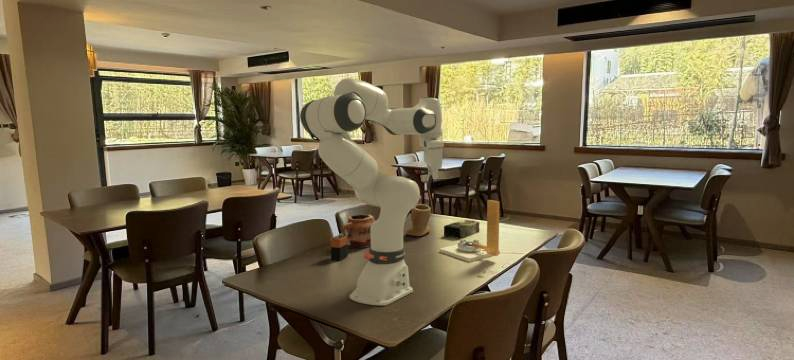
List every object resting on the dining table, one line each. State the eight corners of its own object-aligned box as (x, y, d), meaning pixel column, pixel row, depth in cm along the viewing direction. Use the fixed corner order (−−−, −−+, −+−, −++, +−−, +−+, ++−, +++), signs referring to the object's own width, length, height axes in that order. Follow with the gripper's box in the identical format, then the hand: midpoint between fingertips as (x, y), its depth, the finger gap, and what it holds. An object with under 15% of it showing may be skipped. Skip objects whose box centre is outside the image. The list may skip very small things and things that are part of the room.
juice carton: (464, 229, 241) (464, 217, 240) (481, 232, 235) (481, 220, 234) (442, 237, 226) (443, 225, 225) (460, 240, 220) (460, 228, 219)
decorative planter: (353, 253, 198) (353, 222, 196) (334, 249, 206) (333, 218, 204) (383, 243, 214) (383, 214, 212) (364, 239, 221) (363, 211, 219)
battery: (348, 256, 194) (347, 233, 193) (339, 261, 188) (339, 237, 187) (339, 255, 196) (338, 232, 195) (330, 260, 190) (329, 236, 189)
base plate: (469, 262, 185) (469, 257, 185) (439, 251, 200) (439, 248, 200) (499, 253, 196) (499, 250, 196) (469, 244, 210) (469, 241, 210)
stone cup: (424, 239, 221) (424, 208, 219) (402, 236, 227) (402, 206, 225) (437, 232, 234) (437, 203, 232) (416, 229, 240) (416, 201, 238)
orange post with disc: (452, 248, 199) (453, 196, 196) (469, 244, 205) (469, 193, 202) (488, 260, 182) (489, 203, 179) (505, 255, 188) (506, 200, 185)
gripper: (419, 139, 184) (420, 173, 186) (427, 143, 164) (429, 182, 166) (434, 138, 184) (436, 172, 187) (444, 142, 164) (446, 180, 167)
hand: (432, 176), depth 176 cm, fingers open, 8 cm apart
